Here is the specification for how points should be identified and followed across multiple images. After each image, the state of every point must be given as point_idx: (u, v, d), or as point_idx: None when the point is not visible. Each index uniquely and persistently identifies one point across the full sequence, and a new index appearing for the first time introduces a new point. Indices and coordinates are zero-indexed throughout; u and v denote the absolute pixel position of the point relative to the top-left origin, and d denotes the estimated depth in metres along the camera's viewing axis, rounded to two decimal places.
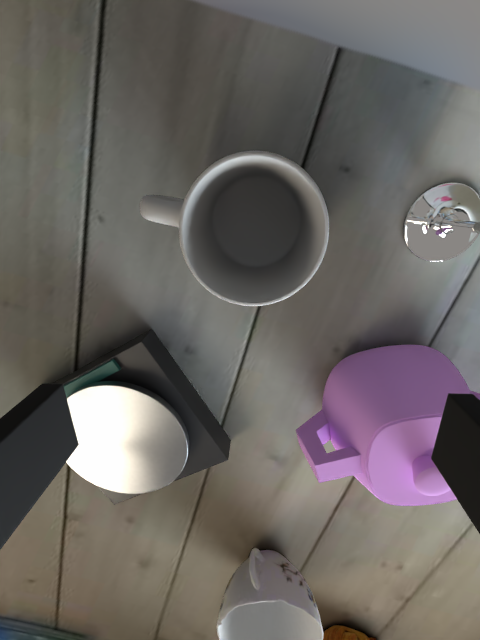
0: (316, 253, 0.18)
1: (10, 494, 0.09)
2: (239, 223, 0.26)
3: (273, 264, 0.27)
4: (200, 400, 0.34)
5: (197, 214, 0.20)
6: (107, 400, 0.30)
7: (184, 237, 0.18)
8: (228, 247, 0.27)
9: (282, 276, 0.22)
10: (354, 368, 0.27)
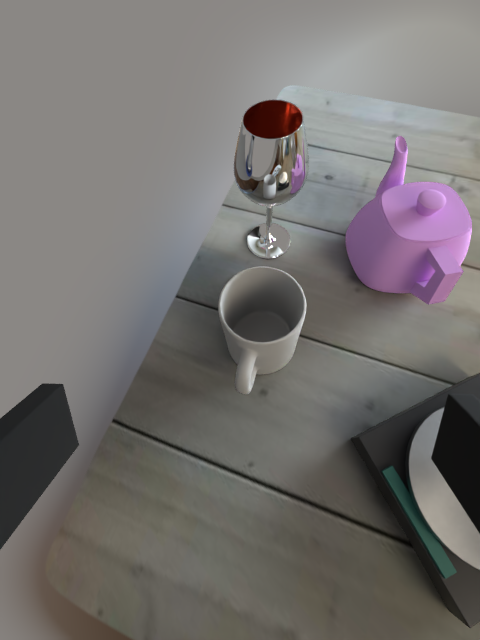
0: (274, 274, 0.31)
1: (10, 494, 0.09)
2: None
3: (289, 326, 0.38)
4: (424, 400, 0.35)
5: None
6: (429, 482, 0.28)
7: None
8: None
9: (292, 304, 0.33)
10: (364, 269, 0.38)
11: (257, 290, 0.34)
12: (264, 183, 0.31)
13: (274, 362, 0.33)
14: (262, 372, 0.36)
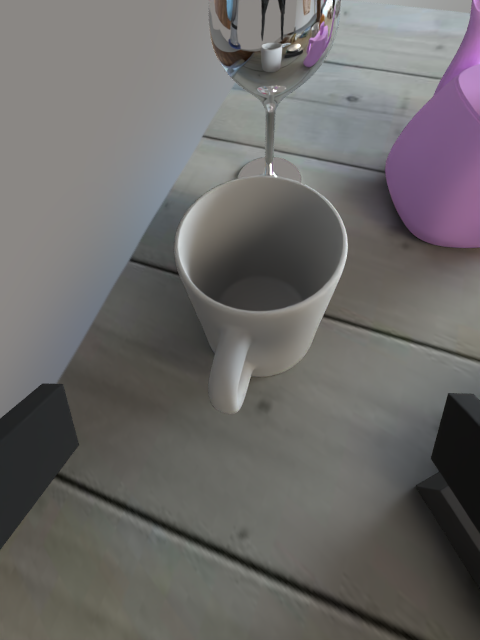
0: (282, 191, 0.17)
1: (10, 494, 0.09)
2: None
3: (304, 299, 0.23)
4: None
5: None
6: None
7: None
8: None
9: (313, 252, 0.19)
10: (423, 206, 0.24)
11: (252, 233, 0.20)
12: (261, 23, 0.17)
13: (282, 355, 0.19)
14: (261, 373, 0.22)
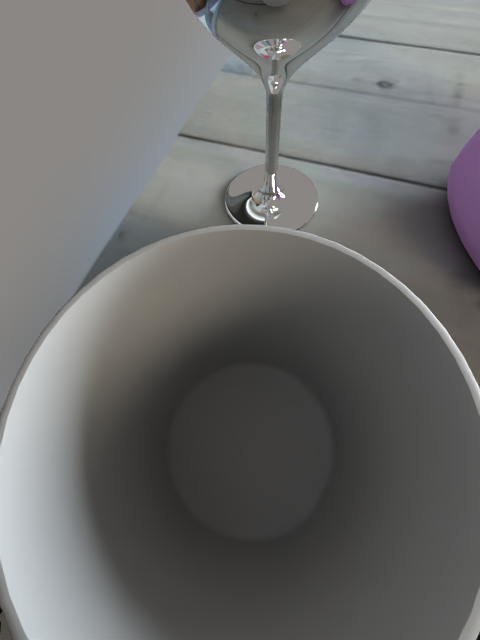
0: (293, 259, 0.07)
1: None
2: (248, 477, 0.13)
3: (326, 409, 0.14)
4: None
5: (186, 609, 0.07)
6: None
7: None
8: (295, 507, 0.13)
9: (354, 369, 0.09)
10: None
11: (231, 318, 0.10)
12: None
13: None
14: None
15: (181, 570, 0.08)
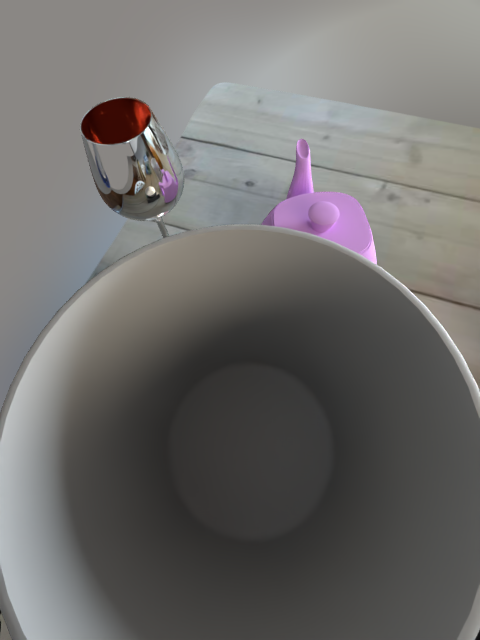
0: (293, 259, 0.07)
1: None
2: (248, 477, 0.13)
3: (326, 409, 0.14)
4: None
5: (186, 609, 0.07)
6: None
7: None
8: (295, 507, 0.13)
9: (354, 369, 0.09)
10: None
11: (230, 318, 0.10)
12: (119, 195, 0.27)
13: None
14: None
15: (180, 570, 0.08)
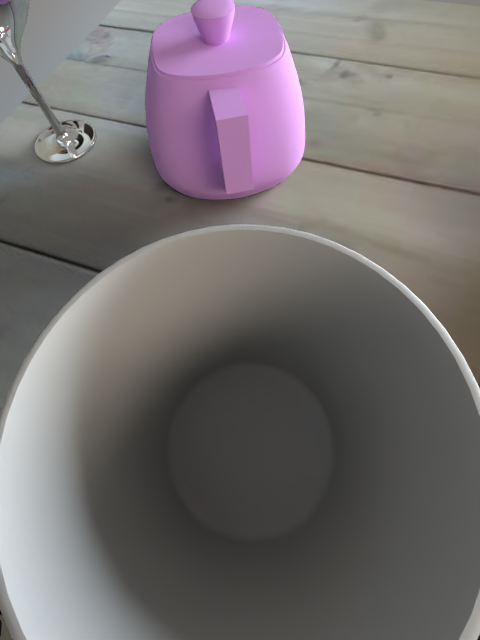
0: (293, 260, 0.07)
1: None
2: (248, 477, 0.13)
3: (326, 410, 0.14)
4: None
5: (186, 610, 0.07)
6: None
7: None
8: (295, 507, 0.13)
9: (354, 369, 0.09)
10: (153, 155, 0.25)
11: (230, 319, 0.10)
12: None
13: None
14: None
15: (181, 571, 0.08)
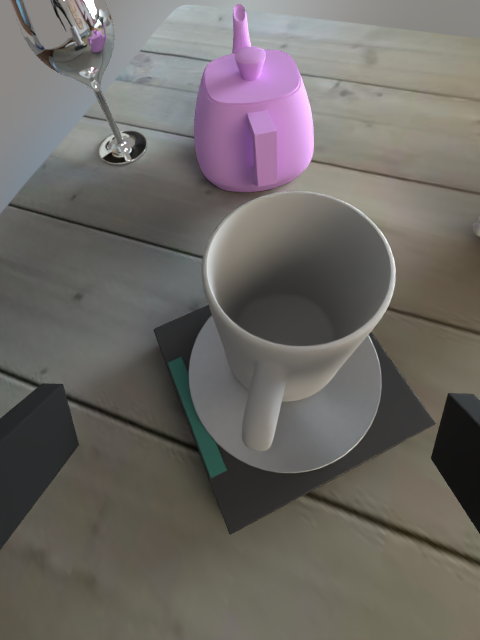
0: (315, 208, 0.15)
1: (10, 494, 0.09)
2: None
3: (330, 318, 0.22)
4: None
5: None
6: (211, 368, 0.23)
7: None
8: None
9: (346, 271, 0.17)
10: (200, 158, 0.33)
11: (277, 250, 0.19)
12: (39, 29, 0.26)
13: (314, 383, 0.17)
14: (288, 399, 0.20)
15: None
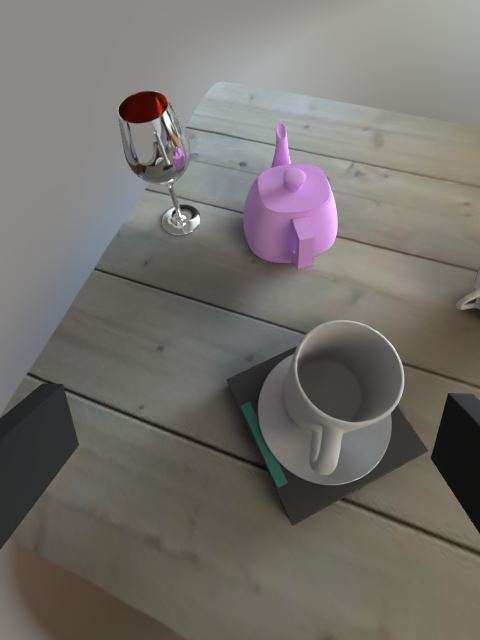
0: (355, 328, 0.26)
1: (10, 494, 0.09)
2: (324, 406, 0.32)
3: (357, 378, 0.32)
4: None
5: None
6: (273, 411, 0.33)
7: (353, 422, 0.22)
8: (345, 417, 0.31)
9: (371, 360, 0.28)
10: (251, 241, 0.43)
11: (326, 342, 0.29)
12: (144, 162, 0.36)
13: None
14: None
15: None
